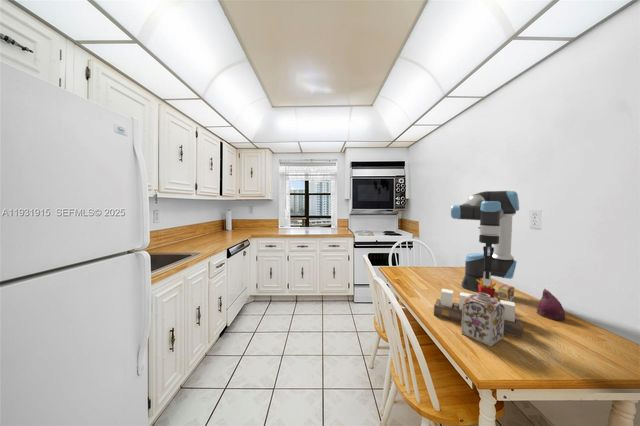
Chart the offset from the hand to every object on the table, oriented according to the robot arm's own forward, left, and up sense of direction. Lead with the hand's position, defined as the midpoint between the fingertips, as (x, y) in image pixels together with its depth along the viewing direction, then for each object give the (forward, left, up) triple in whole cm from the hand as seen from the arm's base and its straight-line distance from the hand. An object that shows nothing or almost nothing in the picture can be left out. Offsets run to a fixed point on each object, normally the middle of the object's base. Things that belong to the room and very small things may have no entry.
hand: (486, 285), depth 111 cm
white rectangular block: (0, -16, -13) cm, 21 cm away
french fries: (-29, 0, -19) cm, 34 cm away
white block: (0, -8, -13) cm, 16 cm away
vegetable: (-30, +28, -19) cm, 45 cm away
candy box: (-15, +8, -19) cm, 25 cm away
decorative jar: (+14, -1, -19) cm, 23 cm away
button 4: (0, +8, -13) cm, 16 cm away
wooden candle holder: (0, -4, -18) cm, 19 cm away
